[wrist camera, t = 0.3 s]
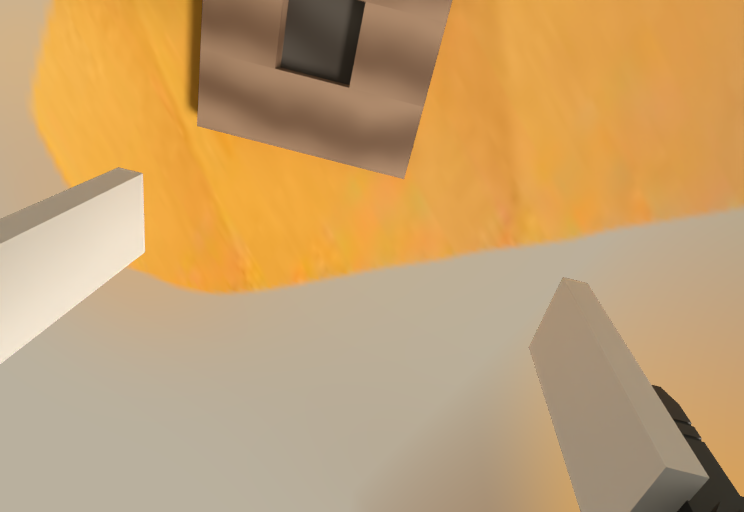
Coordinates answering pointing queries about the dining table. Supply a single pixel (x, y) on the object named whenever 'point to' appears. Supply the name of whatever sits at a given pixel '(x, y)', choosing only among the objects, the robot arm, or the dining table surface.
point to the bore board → (321, 75)
